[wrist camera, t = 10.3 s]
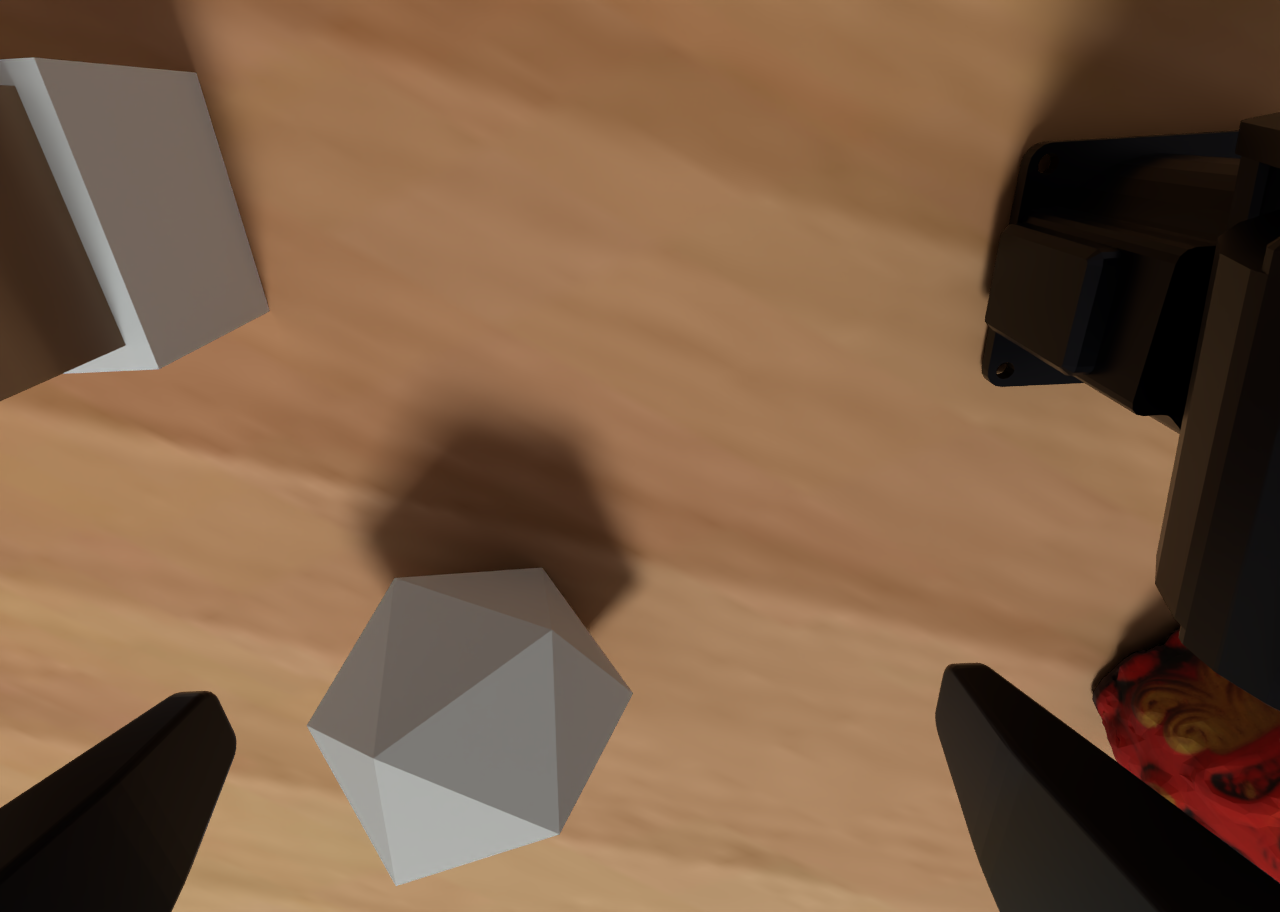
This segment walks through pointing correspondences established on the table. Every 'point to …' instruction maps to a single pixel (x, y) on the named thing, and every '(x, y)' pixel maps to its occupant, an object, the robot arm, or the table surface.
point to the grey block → (144, 202)
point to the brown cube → (42, 268)
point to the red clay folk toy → (1198, 745)
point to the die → (467, 718)
